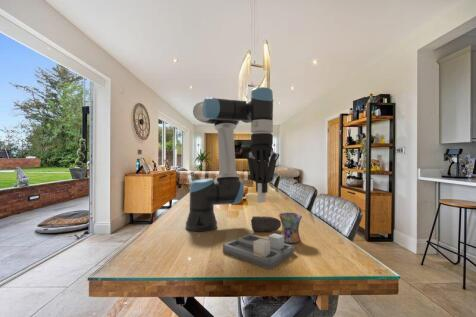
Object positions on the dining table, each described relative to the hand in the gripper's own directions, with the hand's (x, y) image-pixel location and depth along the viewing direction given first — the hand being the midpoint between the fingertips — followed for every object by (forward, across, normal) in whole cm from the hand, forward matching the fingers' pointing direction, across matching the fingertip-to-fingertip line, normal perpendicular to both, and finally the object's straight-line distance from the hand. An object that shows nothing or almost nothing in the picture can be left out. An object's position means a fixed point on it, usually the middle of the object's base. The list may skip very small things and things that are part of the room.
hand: (261, 201), depth 80 cm
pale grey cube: (+17, +2, +7) cm, 19 cm away
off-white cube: (+17, +1, -2) cm, 17 cm away
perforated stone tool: (+19, -16, +25) cm, 35 cm away
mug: (+19, -2, +22) cm, 30 cm away
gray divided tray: (+19, -3, +2) cm, 19 cm away
